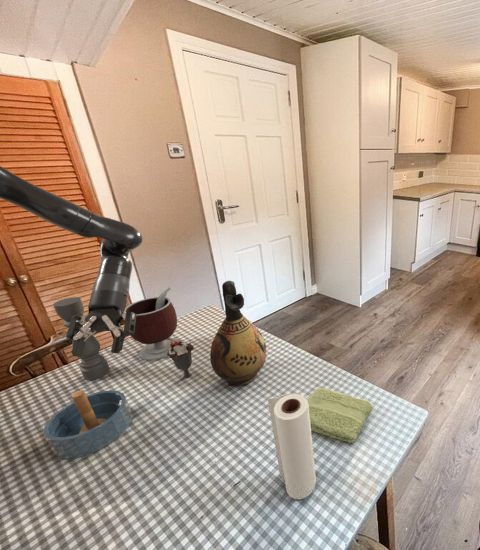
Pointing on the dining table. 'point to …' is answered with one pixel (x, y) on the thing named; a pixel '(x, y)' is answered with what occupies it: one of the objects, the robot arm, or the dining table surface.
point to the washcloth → (337, 414)
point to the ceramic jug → (237, 343)
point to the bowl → (69, 423)
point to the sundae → (181, 356)
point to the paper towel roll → (293, 443)
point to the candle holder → (91, 359)
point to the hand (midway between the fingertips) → (96, 354)
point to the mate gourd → (154, 325)
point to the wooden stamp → (85, 411)
